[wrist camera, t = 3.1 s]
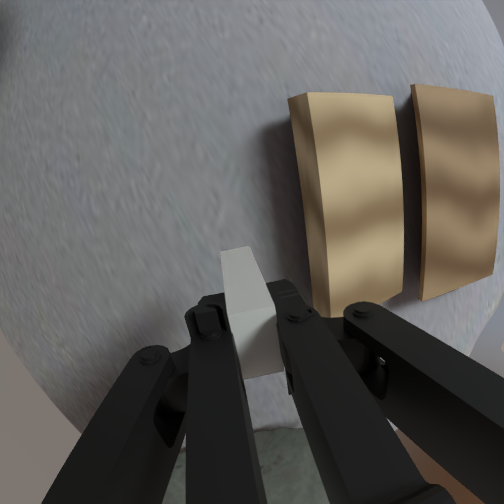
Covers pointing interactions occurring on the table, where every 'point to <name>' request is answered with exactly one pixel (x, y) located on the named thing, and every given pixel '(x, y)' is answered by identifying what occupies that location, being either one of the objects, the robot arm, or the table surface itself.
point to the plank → (350, 197)
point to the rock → (271, 470)
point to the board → (456, 186)
